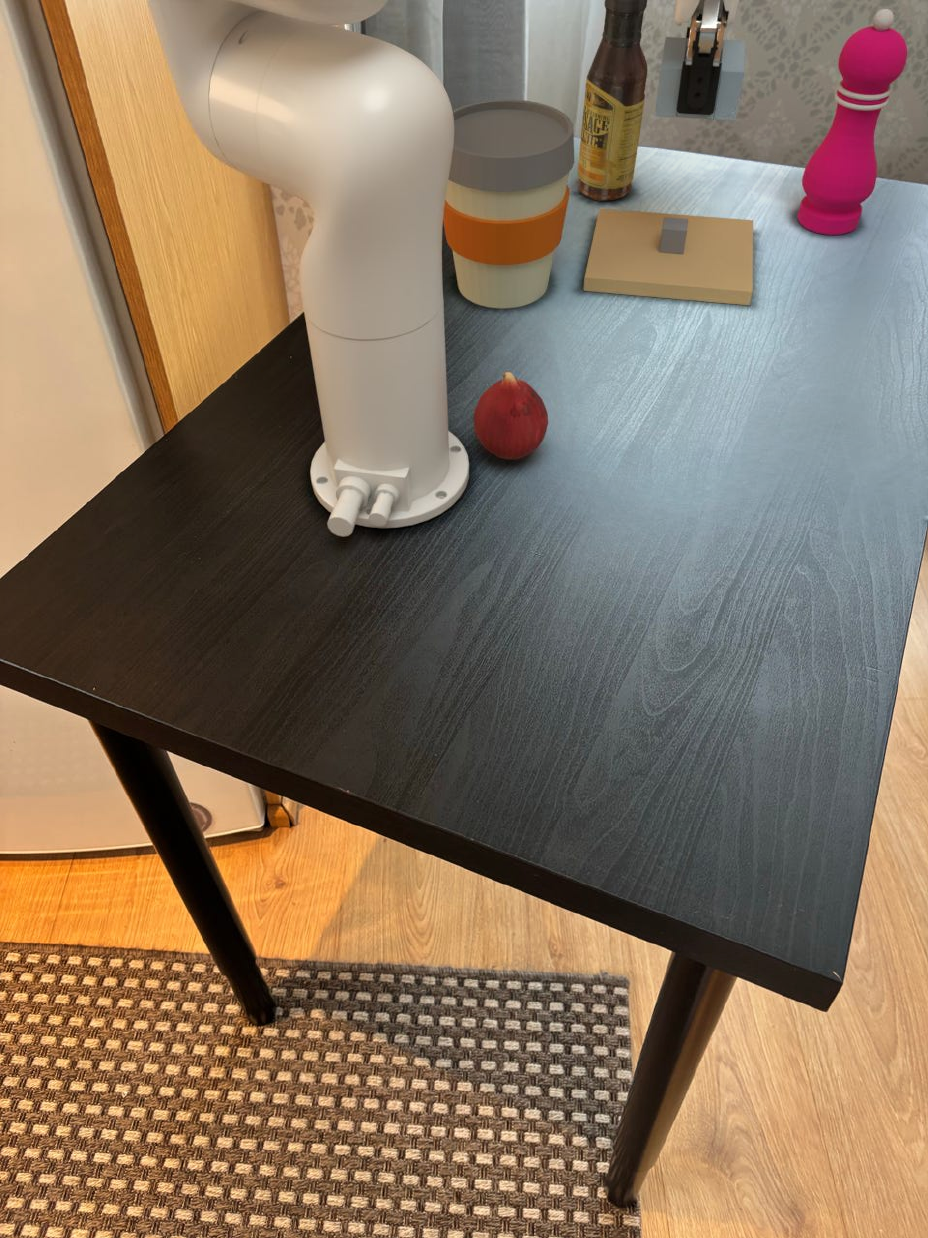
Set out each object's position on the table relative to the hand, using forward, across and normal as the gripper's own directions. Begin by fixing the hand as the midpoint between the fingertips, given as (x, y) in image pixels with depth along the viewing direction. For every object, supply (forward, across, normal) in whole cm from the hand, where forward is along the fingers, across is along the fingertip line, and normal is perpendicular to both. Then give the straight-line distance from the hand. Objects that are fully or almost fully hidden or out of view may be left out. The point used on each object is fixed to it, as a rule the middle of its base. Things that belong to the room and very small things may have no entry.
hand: (696, 92), depth 86 cm
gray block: (+1, 0, 0) cm, 1 cm away
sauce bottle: (+16, -14, -8) cm, 23 cm away
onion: (+16, +33, -11) cm, 39 cm away
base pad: (+16, 0, 0) cm, 16 cm away
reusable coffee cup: (+16, +7, -16) cm, 24 cm away
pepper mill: (+16, -11, +16) cm, 25 cm away
